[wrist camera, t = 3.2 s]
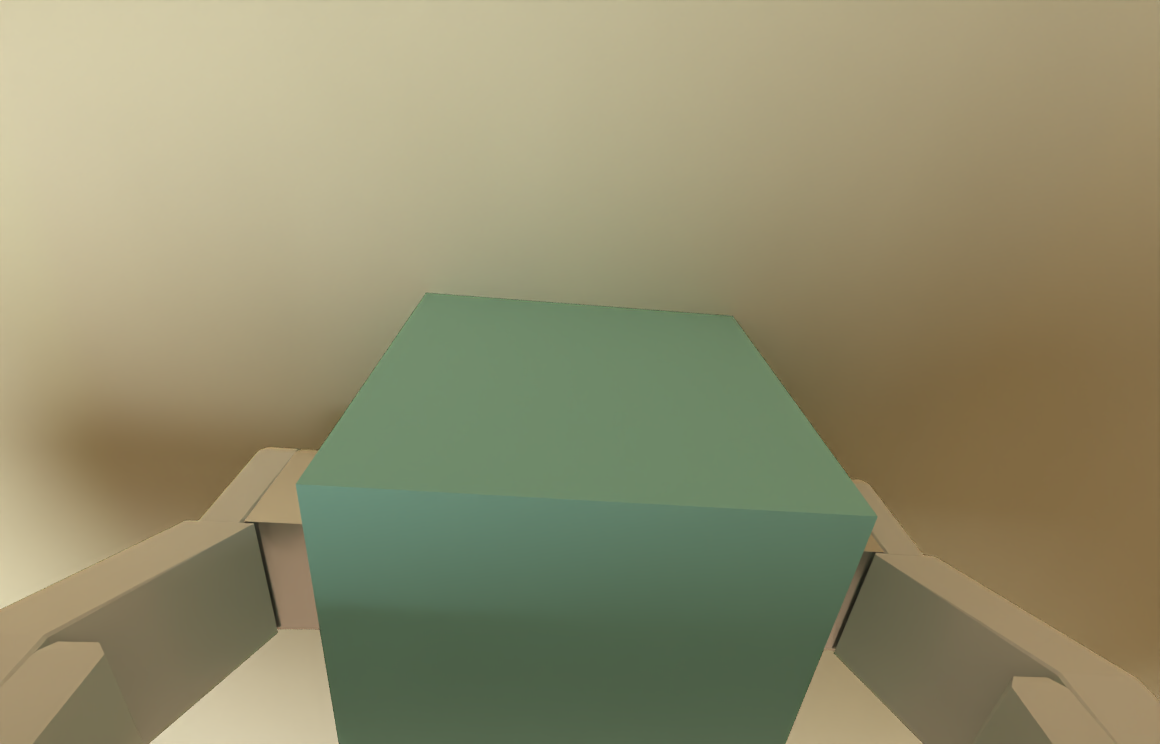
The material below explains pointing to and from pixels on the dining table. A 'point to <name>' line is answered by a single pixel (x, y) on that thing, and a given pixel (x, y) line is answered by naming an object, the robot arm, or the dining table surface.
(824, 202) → the dining table surface
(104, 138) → the dining table surface
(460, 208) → the dining table surface
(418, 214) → the dining table surface
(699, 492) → the teal cube
